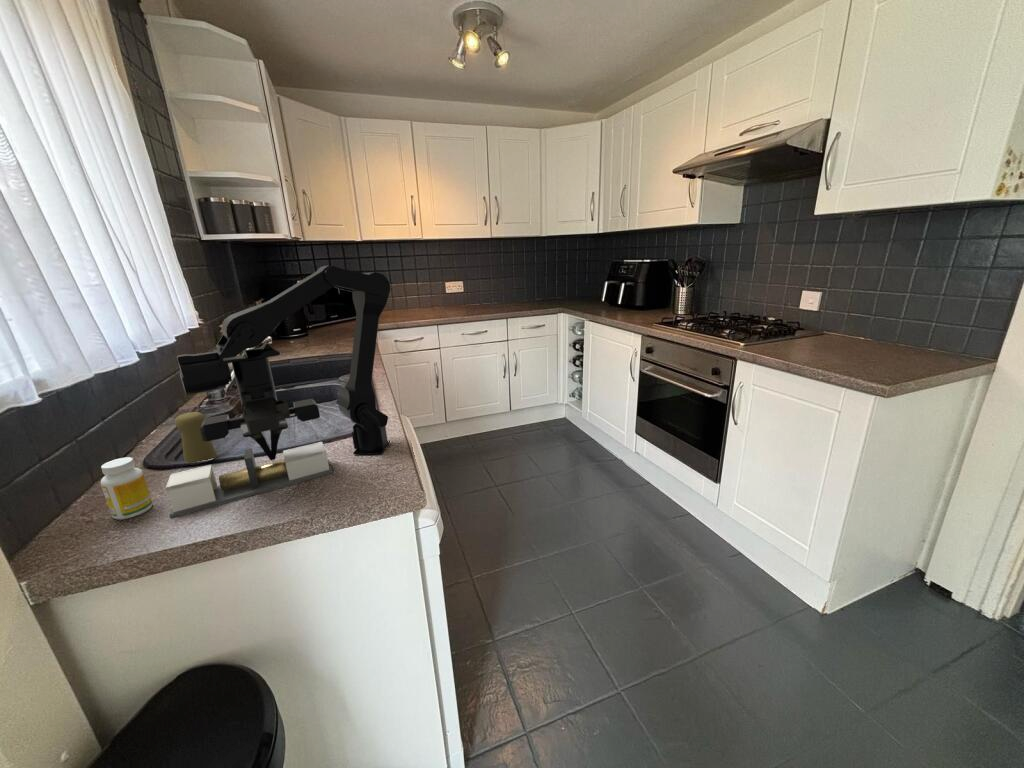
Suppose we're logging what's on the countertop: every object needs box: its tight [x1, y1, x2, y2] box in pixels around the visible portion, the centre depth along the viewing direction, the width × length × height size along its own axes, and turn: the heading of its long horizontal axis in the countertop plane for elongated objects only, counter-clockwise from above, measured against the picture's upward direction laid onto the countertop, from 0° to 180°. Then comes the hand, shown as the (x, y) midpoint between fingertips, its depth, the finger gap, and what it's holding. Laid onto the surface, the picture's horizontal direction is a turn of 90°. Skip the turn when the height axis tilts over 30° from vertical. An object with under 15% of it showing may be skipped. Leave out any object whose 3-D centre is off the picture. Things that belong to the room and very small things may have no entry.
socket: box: [165, 464, 219, 512], centre depth 72 cm, size 6×6×5 cm
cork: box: [174, 411, 218, 463], centre depth 89 cm, size 6×6×11 cm
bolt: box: [218, 447, 288, 491], centre depth 78 cm, size 17×5×6 cm, turn 122°
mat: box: [168, 461, 333, 519], centre depth 78 cm, size 26×7×1 cm, turn 122°
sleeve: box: [282, 441, 329, 480], centre depth 82 cm, size 7×5×4 cm
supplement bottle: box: [100, 456, 153, 520], centre depth 70 cm, size 5×5×10 cm
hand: (272, 459), depth 78 cm, fingers closed
